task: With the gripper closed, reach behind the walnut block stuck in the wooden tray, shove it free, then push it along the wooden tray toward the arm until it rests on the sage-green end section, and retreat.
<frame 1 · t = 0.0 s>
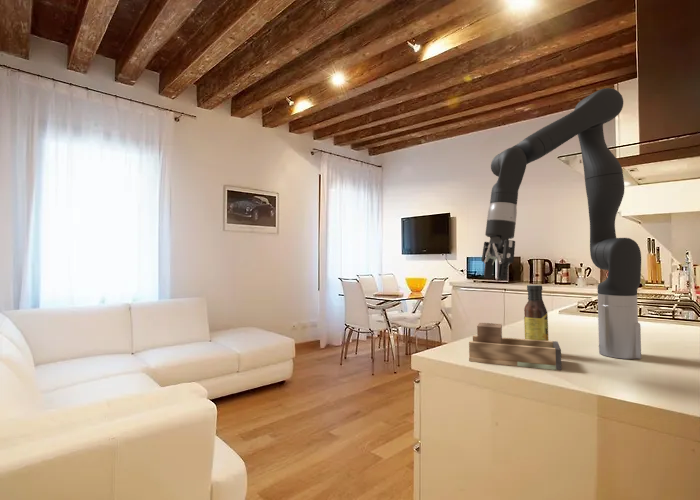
hand: (494, 278, 104), 22 cm above the countertop, tool pointing down, fingers open, 8 cm apart
block: (489, 339, 105), point 5 cm above the countertop, slide at 0.0 cm
wooden tray: (513, 360, 102), on the countertop
sauce bottle: (536, 353, 110), on the countertop
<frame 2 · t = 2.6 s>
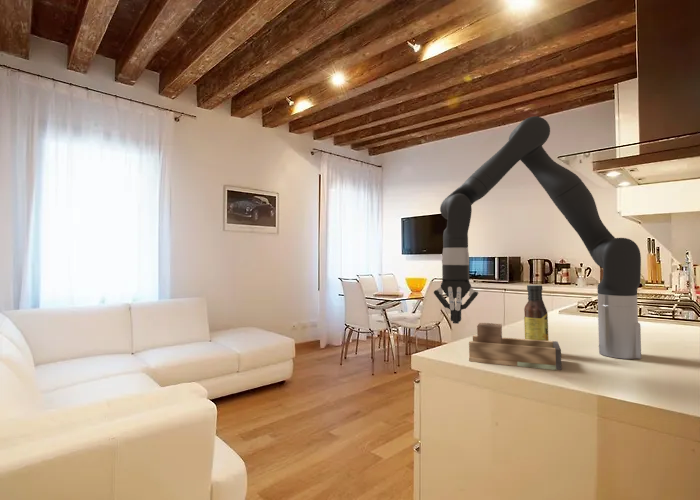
hand: (455, 323, 109), 9 cm above the countertop, tool pointing down, fingers closed
nothing on the countertop moved.
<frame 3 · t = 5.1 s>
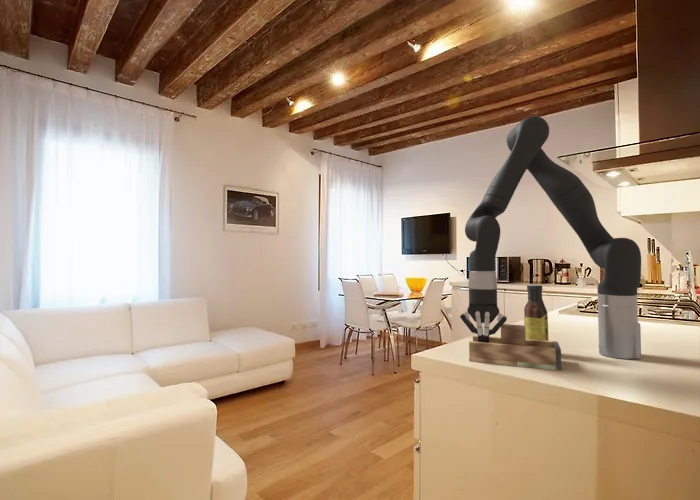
hand: (483, 348, 106), 2 cm above the countertop, tool pointing down, fingers closed
block: (513, 341, 102), point 5 cm above the countertop, slide at 6.0 cm, touching hand
everything else where it was.
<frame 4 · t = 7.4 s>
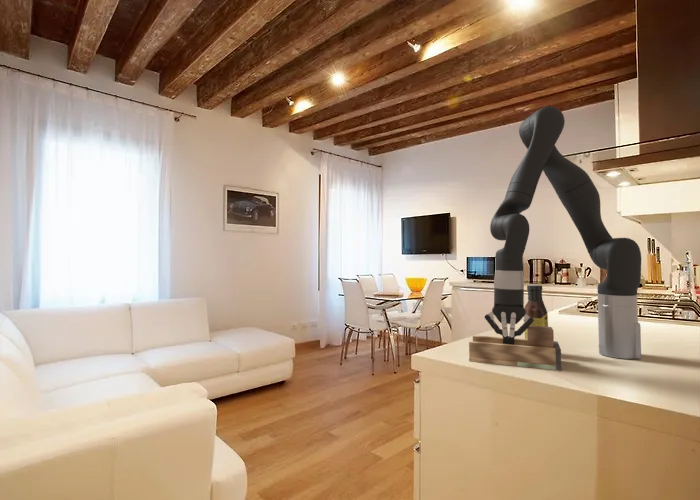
hand: (508, 350, 103), 3 cm above the countertop, tool pointing down, fingers closed
block: (540, 343, 100), point 5 cm above the countertop, slide at 12.6 cm, touching hand
everything else where it was.
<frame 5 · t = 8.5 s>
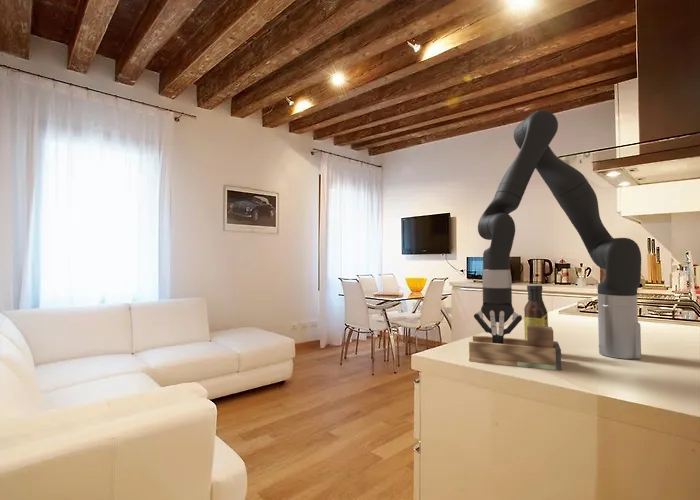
hand: (498, 348, 104), 3 cm above the countertop, tool pointing down, fingers closed
block: (540, 343, 100), point 5 cm above the countertop, slide at 12.5 cm
everything else where it was.
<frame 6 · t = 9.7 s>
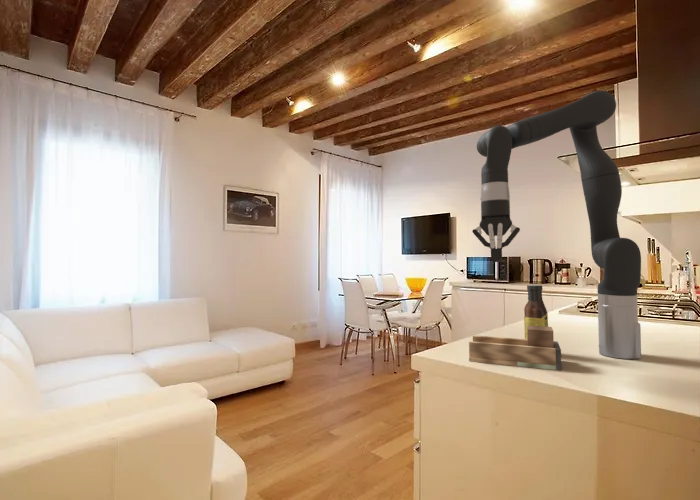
hand: (496, 261, 105), 27 cm above the countertop, tool pointing down, fingers closed
nothing on the countertop moved.
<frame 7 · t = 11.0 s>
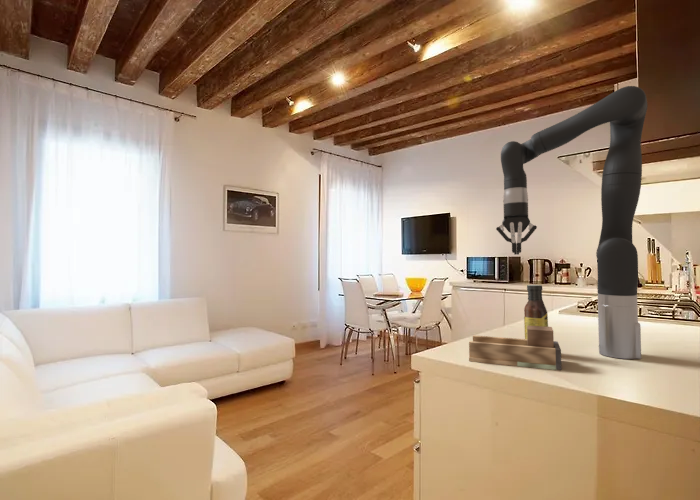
hand: (516, 254, 125), 29 cm above the countertop, tool pointing down, fingers closed
nothing on the countertop moved.
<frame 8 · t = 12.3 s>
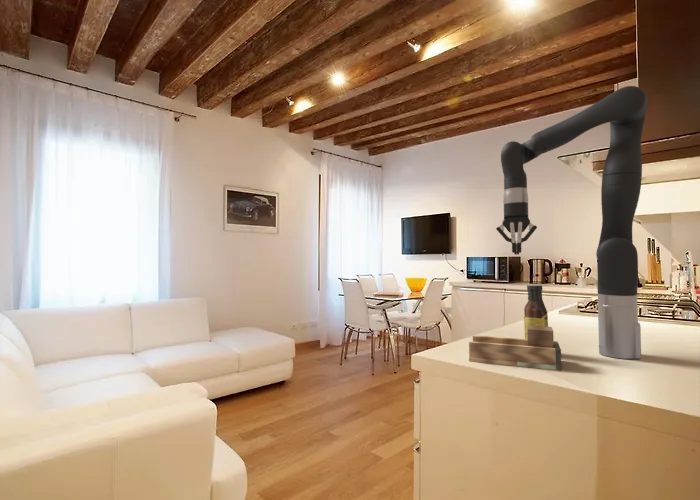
hand: (516, 254, 125), 29 cm above the countertop, tool pointing down, fingers closed
nothing on the countertop moved.
at the end: block slide at 12.5 cm; sauce bottle tilted 0° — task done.
